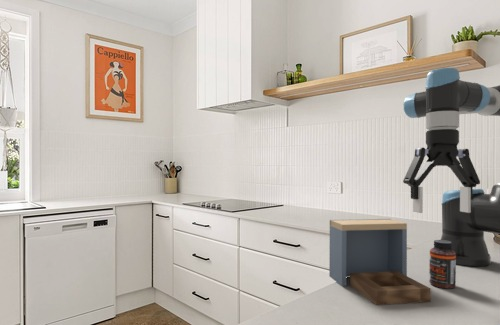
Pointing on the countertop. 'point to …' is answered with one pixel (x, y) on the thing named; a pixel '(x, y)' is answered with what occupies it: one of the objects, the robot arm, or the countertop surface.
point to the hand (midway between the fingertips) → (441, 212)
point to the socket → (389, 287)
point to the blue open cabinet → (367, 247)
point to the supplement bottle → (442, 265)
